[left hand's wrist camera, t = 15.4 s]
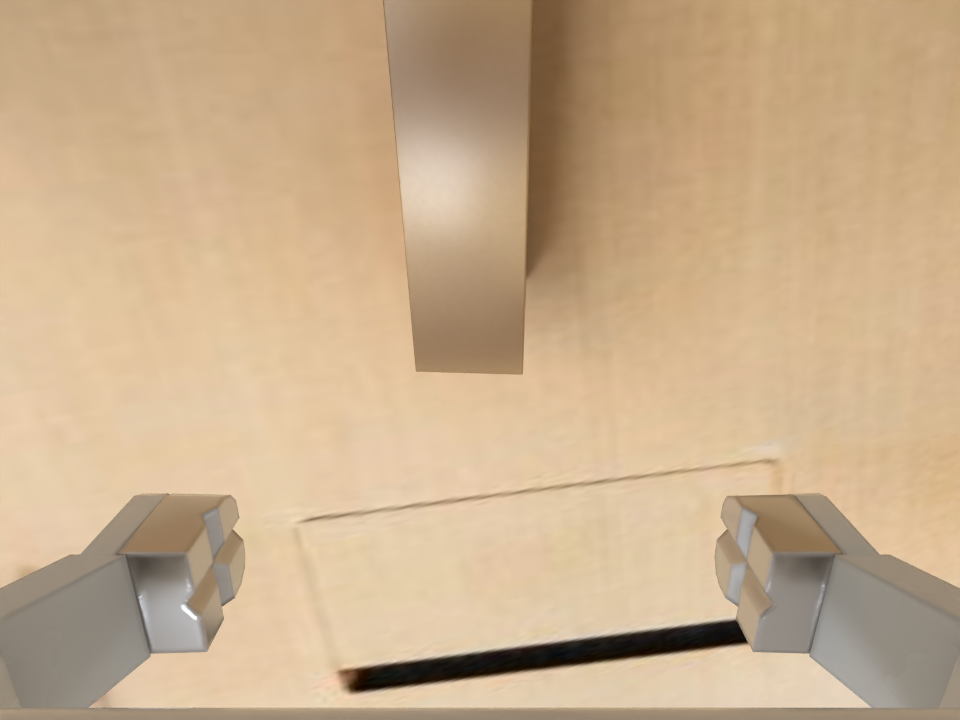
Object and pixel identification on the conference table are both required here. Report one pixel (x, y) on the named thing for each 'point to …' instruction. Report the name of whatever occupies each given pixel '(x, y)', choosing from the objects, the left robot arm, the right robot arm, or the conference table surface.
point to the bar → (463, 176)
